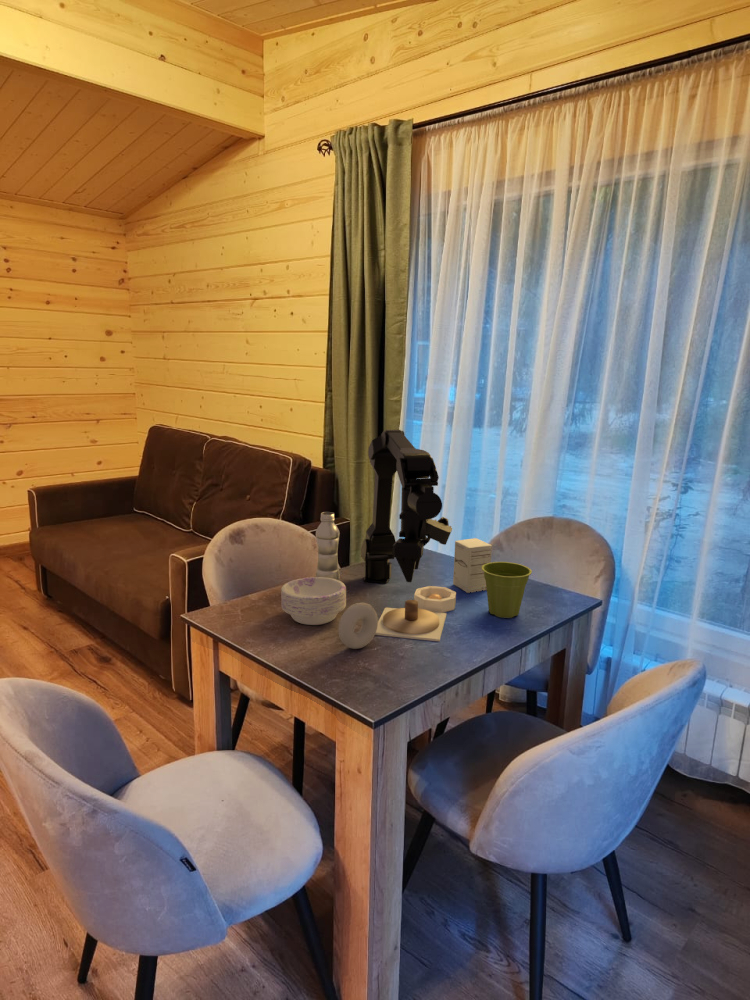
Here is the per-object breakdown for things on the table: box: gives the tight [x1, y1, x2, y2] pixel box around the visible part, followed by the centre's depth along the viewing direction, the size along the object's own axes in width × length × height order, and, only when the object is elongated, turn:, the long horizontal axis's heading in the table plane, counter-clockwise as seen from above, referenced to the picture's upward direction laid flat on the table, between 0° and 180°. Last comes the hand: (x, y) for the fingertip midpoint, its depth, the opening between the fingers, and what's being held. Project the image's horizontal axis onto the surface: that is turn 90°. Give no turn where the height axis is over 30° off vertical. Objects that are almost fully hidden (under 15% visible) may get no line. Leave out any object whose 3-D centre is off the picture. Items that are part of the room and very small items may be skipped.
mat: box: [374, 607, 447, 642], centre depth 147 cm, size 15×15×1 cm
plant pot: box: [482, 561, 533, 619], centre depth 154 cm, size 12×12×11 cm
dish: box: [413, 585, 457, 613], centre depth 159 cm, size 10×10×4 cm
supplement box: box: [452, 537, 493, 594], centre depth 171 cm, size 7×7×13 cm
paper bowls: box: [280, 576, 347, 626], centre depth 150 cm, size 15×15×8 cm
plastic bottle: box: [315, 511, 341, 581], centre depth 170 cm, size 6×7×20 cm
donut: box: [337, 602, 379, 650], centre depth 134 cm, size 10×4×10 cm, turn 131°
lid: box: [383, 599, 439, 634], centre depth 147 cm, size 13×13×5 cm
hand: (412, 575), depth 145 cm, fingers open, 9 cm apart
